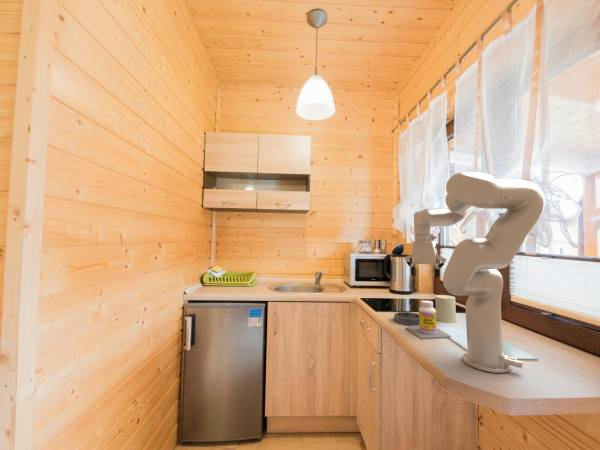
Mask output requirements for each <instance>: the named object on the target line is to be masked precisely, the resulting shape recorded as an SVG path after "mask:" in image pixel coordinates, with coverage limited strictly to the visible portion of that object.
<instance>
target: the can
mask: <svg viewBox="0 0 600 450" xmlns="http://www.w3.org/2000/svg"><path fill="white" fill-rule="evenodd" d="M434 299H435V310H436V321H438V322H440V323H446V324H447V323H451V324H452V323H453V324H454V323H456V322H457V311H456V309H457V308H456V306H457V305H456V297H455V296H454V295H453V296H452V295H447V294H437V295H434Z"/></svg>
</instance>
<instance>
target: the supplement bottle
mask: <svg viewBox="0 0 600 450" xmlns="http://www.w3.org/2000/svg"><path fill="white" fill-rule="evenodd" d="M420 304H421V306H420V307H419V308H418V314H419V326H418V327H419V329H420V331H421V332H423V333H427V334H435V333H436V328H437V320H436V308H434V302H433V301H431V300H421V302H420Z"/></svg>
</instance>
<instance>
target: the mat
mask: <svg viewBox="0 0 600 450" xmlns="http://www.w3.org/2000/svg"><path fill="white" fill-rule="evenodd" d="M405 330H407V331H409V333H412V334H413V335H414V336H416V337H417V338H419V339H421V340H431V339H433V340H435V339H451V338H450V337H452V336H451V335H450V334H448V333H446V332H444V331H442V330H440V329H439V328H437V327H436V333H435V334H427V333H423V332H421V331H420V329H419V326H408V327H407V326H405Z"/></svg>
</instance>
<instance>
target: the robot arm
mask: <svg viewBox="0 0 600 450" xmlns="http://www.w3.org/2000/svg"><path fill="white" fill-rule="evenodd" d="M445 190H446V193H447V194H446V196H445V204H446V206H447V208H426V209H425V208H424V209H423V210H421V211H420V210H419V211H415V212H414V214H413V227H414V241H413V242H412V248H411V254H409V255H407V256H405V257H404V261H405V263H406V264H407V265H408V266H409V268H410V274H411V276H412V277H416V276H417V270H416V269H417V268H416V265H432V266H434V268H435V269H434V278H435V279H439V278H440V277H441V268H442V267H443V266H444V265H445V263H446V261H447V258H445V257H443V256H441V255H440V254H439V253H438V247H437V243H436V241H435V240H436V239H437V238H438V237H437V235H434V230H433V227H450V226H454V225H456V224H457V223H459V222H461V221H462V220H464V218H465V217H466V215H467V212H468V209H470V208H471V207H475V208H479V209H484V210H485V209H486V210H490V209H492V210H493V209H498V210H499V209H500V210H501V209H506V211H505V212H504V213H503V214H501V215H500V216H499V217H498V218H496V219H495V221H493V223H492V224H491V227H490V229H489V230H488V232H487V233H486V235H485V236H484V237H481V238H480V237H479V238H478V237H476V238H465V239H463V240H461V241H459V243H458V244H457V245H456V246H455V248H454V249H453V251H452V254H451V256H450V258H449V260H448V262H447V264H446V268H445V269H444V272H443V275H442V283H443V287H444V288H445V289H444V290H446V292H448V293H449V294H451V295H453V296H457V297H458V296H459V297H461V296H462V297H463V296H468V298H467V300H466V302H465V323H466V325H465V327H466V344H467V345H466V346H467V348H466V349H467V352H464V353H463V354H462V356H461V357H462V361H463V362H464V363H465V364H466V365H468V366H470V367H471V368H475V369H476V370H479V371H484V372H489V373H496V374H503V373H504V374H505V373H508V372H509V371H510V370H511V366H512V367H515V368H519V369H523V361H521V360H518V358H517V357H513V356H512V357H511V356H508V355H507V354H506V350H504V347H503V346H504V345H503V329H502V328H503V327H502V326H503V324H502V307H501V305H502V294H503V288H504V278H503V275H502V274H501V272H500V271H499V270H500V269H505V268H507V267H508V266H509V265H510V264H511V263H512V261H513V260H514V259H515V256H517V255H516V254H517V253H518V252H519V250H520V248H521V247H522V245H523V244H524V241H525V239H526V238H527V236H528V235H529V233H530V232H531V231H532V229H533V228H534V226H535V225H536V224H537V223H538V222H539V220H540V218H541V216H542V215H543V212H544V209H545V204H546V202H545V201H546V200H545V196H544V193H543V191H542V189H541V187H539V185H537V184H535V183H534V182H531V181H528V180H525V179H510V178H509V179H508V178H502V179H501V178H494V176H492V175H491V174H488V173H485V172H465V171H464V172H463V171H462V172H457V173H455V174H453V175H451V177H449V179H448V180H447V182H446V185H445ZM410 259H411V261H412V262H411V261H410ZM439 260H440V263H439Z"/></svg>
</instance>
